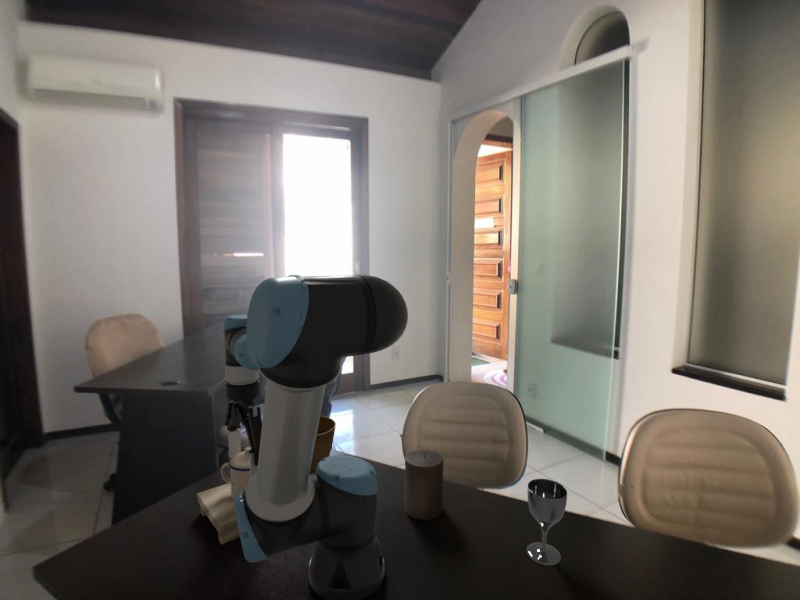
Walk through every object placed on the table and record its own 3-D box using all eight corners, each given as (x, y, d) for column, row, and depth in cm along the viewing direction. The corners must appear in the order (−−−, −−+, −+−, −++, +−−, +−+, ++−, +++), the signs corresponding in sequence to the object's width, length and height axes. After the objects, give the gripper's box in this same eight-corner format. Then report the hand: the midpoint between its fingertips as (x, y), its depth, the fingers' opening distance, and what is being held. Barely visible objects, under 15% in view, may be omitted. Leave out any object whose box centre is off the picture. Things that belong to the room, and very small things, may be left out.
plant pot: (299, 499, 112) (298, 440, 110) (272, 477, 123) (271, 423, 121) (346, 479, 122) (346, 425, 120) (318, 460, 133) (317, 410, 131)
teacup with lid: (275, 485, 109) (274, 441, 108) (258, 506, 100) (257, 458, 99) (231, 480, 111) (230, 437, 110) (211, 500, 102) (209, 454, 101)
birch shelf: (295, 514, 105) (295, 495, 105) (219, 547, 94) (219, 525, 93) (267, 487, 117) (267, 469, 117) (197, 512, 106) (196, 493, 105)
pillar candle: (449, 515, 106) (451, 457, 105) (414, 524, 102) (415, 464, 101) (430, 495, 115) (432, 441, 114) (397, 503, 111) (398, 447, 109)
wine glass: (537, 570, 88) (541, 501, 87) (517, 544, 96) (520, 481, 94) (571, 563, 90) (575, 496, 89) (548, 538, 98) (552, 476, 96)
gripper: (281, 390, 95) (283, 481, 97) (239, 366, 113) (241, 443, 116) (247, 397, 90) (250, 493, 92) (209, 371, 109) (212, 452, 111)
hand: (245, 466), depth 104 cm, fingers open, 13 cm apart
